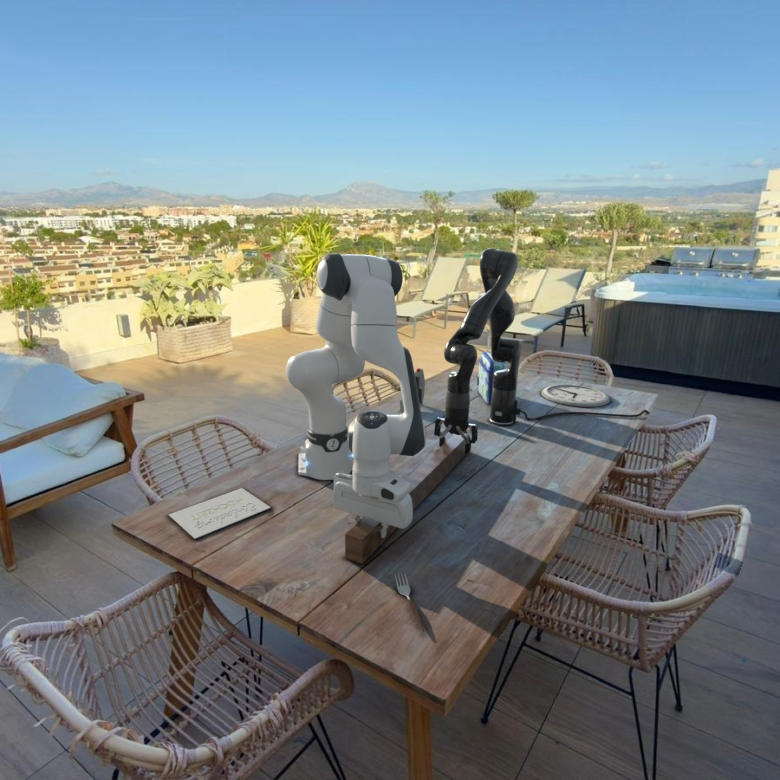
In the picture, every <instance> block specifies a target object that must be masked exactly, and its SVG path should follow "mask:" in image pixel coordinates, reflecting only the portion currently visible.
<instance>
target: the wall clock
mask: <svg viewBox="0 0 780 780" xmlns="http://www.w3.org/2000/svg"><path fill="white" fill-rule="evenodd" d="M541 395H542V396H543V398H545V399H547V400H549V401H551V402H553V403H557V404H560V405H567V406H571V407H578V408H579V407H580V408H594V407H595V408H596V407H602V406H606V405H608V404H609V403H610V402H611V398H610V396H609V395H608V394H606V393H605V392H603V391H602V390H598V389H595V388H593V387H588V386H585V385H584V386H583V385H576V384H555V385H550V386H547V387H545V388H544V389H542V390H541Z"/></svg>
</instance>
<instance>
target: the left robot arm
mask: <svg viewBox="0 0 780 780" xmlns="http://www.w3.org/2000/svg"><path fill="white" fill-rule="evenodd" d="M403 281H404V274H403V270H402V268H401V266H400V263H399V262H397V261H396V260H394V259H391V258H388V257H379V256H375V255H371V254H364V253H363V254H352V253H351V254H350V253H348V254H347V253H346V254H345V253H344V254H340V252H339V253H338V252H336V253H328V254H325V255H323V256H322V257H321V259H320V260H319V263H318V265H317V271H316V282H317V286H318V288H319V290H320V291H321V292H322V293H321V297H320V300H319V301H320V302H319V307H318V309H317V310H318V311H317V316H316V321H315V330H316V332H317V334H318V336H319V337H320V338H322V339H323V340H324V341H325V345H324V346H323V347H321V348H316V349H310V350H305V351H302V352H299V353H297V354H295V355H293V356H291V357H289V358H288V360H287V363H286V365H285V377H286V379H287V381H288V383H289V384H290V385H291V386H292V387H293V388H294V389H296V390H297V391H299V392H300V393H301V394H302V395H303V397H304V400H305V401H306V404H307V409H308V410H307V411H308V422H309V427H308V430H307V439H306V440H305V441H304V445H303V446H300V447H299V452H298V471H297V472H298V475H299V476H302V477H303V476H304V477H308V478H312V479H315V480H319V481H331V480H332V481H333V491H332V498H331V504H332V506H333V508H334V509H336V510H339V511H341V512H345V513H348V514H351V518H352V520H353V522H354V525H356V524H357V523H358V522H359V521H360V520H361V519H362V518H363V517H364V518H368V519H371V520H374V521H378V522H381V523H382V526H384V527H383V528H382V527H381V528H380V529H379V530H378V537H381V538H384V537H385V536H386V529H387V528H388V527H389V525H391V526H394V527H397V528H398V529H401V530H405V529H406V528H408V527H409V525H411V523H412V522H413V520H414V519H413V517H414V510H413V506H412V499H411V496H410V495H409V494H408V491H409V490H410V483H409V482H407V481H406V480H405V478H402V476H401V477H400V476H399V475H397V474H396V473H395V472H393V471H392V468H391V463H390V458H391V456H392V455H399V456H406V457H415V456H416V455H417V454H420V452H421V451H422V450H424V448H425V447H426V442H427V430H426V426H425V423H424V420H423V415H422V411H421V404H420V403H419V397H418V391H417V385H416V378H415V369H414V362H413V359H412V355H411V352H410V350H409V349H408V348H406V347H405V346H403V344H402V343H401V340H400V338H399V335H398V311H397V310H398V309H397V302H396V297H397V295H398V294H399V293H400V292H401V290H402V286H403ZM366 362H367V363H370V364H372V365H374V366H377V367H379V368H382V369H384V370H386V371H388V372H390V373H392V374H393V375H394V376H395V377H396V378H397V380H398V383H399V387H400V393H401V400H403V406H404V412H403V413H400V414H386V413H384V412H383V411H380V410H375V409H369V410H363V411H361V412H360V413H358V414H357V415H356V417H355V418H353V419H352V421H350V423H349V424H348V425H347V407H346V406H347V405H346V403H345V402H344V400H343V399H342V398H341V397H339V396H337V395H335V394H334V393H333V389H332V386H333V385H335V384H340V383H344V382H347V381H350V380H353V379H355V378H356V377H358V376H361V374H362V373H363V372H364V369H365V365H366ZM351 473H352V474H351Z"/></svg>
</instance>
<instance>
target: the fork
mask: <svg viewBox="0 0 780 780" xmlns="http://www.w3.org/2000/svg"><path fill="white" fill-rule="evenodd" d="M403 573H404V576H403ZM397 574H398V578H397ZM397 574H396V573H394V575H395V577H394V578H395V582H396V588H397V591H398V593H399V594H400V595H402V596H404V597H406V598H407V601H408V605H409V609H410V612H411V613H412V615H413V617H414V619H415V620H416V622H417V625H419V628H420V630H422V632H425V628H424V624H423V623H422V619H421V616H420V614H419V611H418V609H417V606H416V605H415V603H414V602H413V600H412V599H411V598H410V594H411V588H410V584H409V582H408V579H407V575H406V572H401V577H400V574H399V573H397ZM401 580H402V581H401ZM398 581H399V582H398Z"/></svg>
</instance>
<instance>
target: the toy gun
mask: <svg viewBox="0 0 780 780" xmlns="http://www.w3.org/2000/svg"><path fill="white" fill-rule="evenodd" d="M414 373H415V378H416V385H417V391H418V397H419V403H420V405H423V403H424V400H425V399H424V398H425V390H426V384H425V383H426V380H425V374H424V369H423V368H420V367H417V368H416V370H415V371H414ZM399 410H400V412H403V413H404V406H403V399H401V400H400V401H399Z"/></svg>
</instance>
